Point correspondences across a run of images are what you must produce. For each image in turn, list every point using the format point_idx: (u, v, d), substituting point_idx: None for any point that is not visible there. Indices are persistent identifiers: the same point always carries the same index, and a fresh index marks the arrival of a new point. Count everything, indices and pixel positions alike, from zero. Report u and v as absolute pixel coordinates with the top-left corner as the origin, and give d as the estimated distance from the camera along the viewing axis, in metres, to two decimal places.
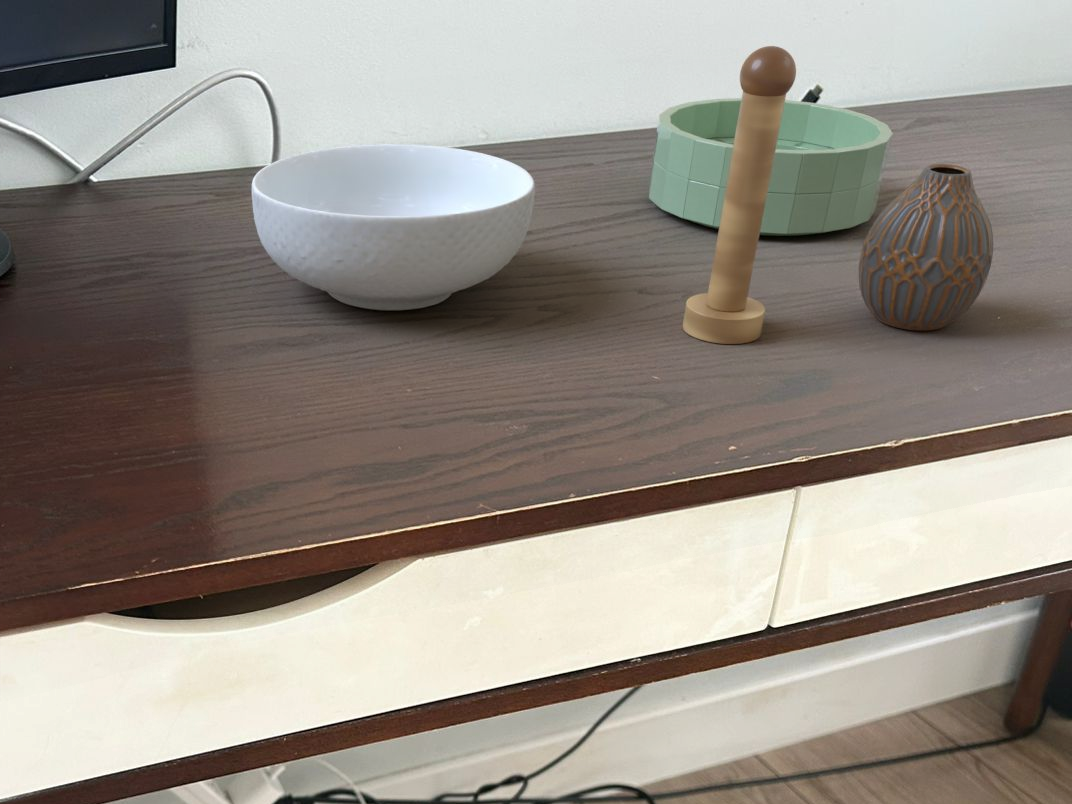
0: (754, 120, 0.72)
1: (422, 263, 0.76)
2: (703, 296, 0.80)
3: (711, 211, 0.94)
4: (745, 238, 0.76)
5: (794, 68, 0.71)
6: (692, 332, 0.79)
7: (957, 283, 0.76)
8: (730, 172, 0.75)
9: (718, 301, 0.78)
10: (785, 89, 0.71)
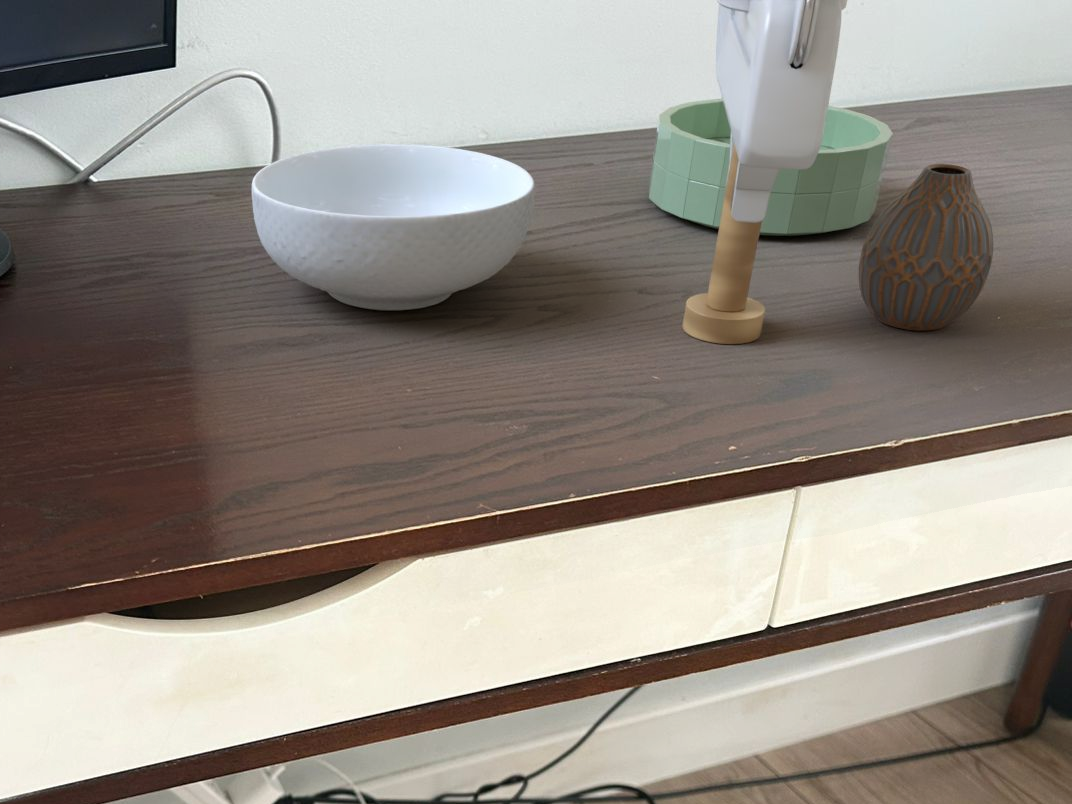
0: None
1: (422, 263, 0.76)
2: (703, 296, 0.80)
3: (711, 211, 0.94)
4: (745, 238, 0.76)
5: (794, 68, 0.71)
6: (692, 332, 0.79)
7: (957, 283, 0.76)
8: (730, 172, 0.75)
9: (718, 301, 0.78)
10: None
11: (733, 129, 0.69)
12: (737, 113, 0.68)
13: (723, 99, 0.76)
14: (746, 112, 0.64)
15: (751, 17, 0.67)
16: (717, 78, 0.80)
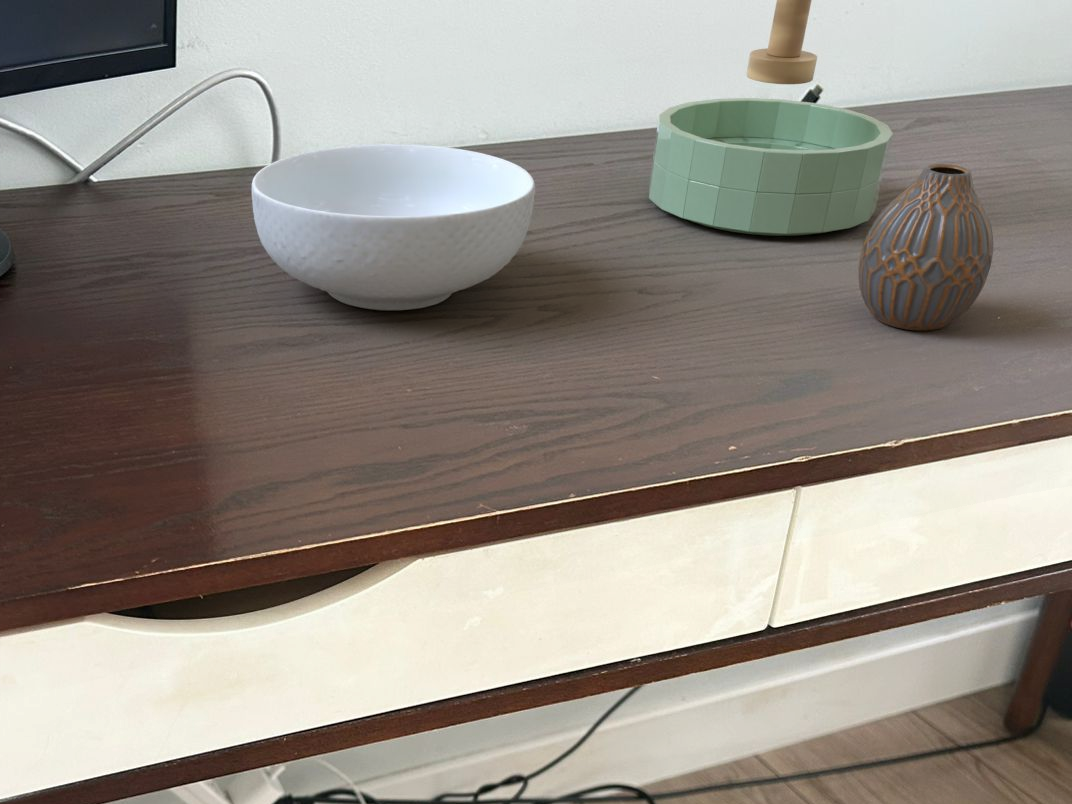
0: None
1: (422, 263, 0.76)
2: (764, 50, 0.95)
3: (711, 211, 0.94)
4: None
5: None
6: (756, 76, 0.94)
7: (957, 283, 0.76)
8: None
9: (778, 48, 0.93)
10: None
11: None
12: None
13: None
14: None
15: None
16: None
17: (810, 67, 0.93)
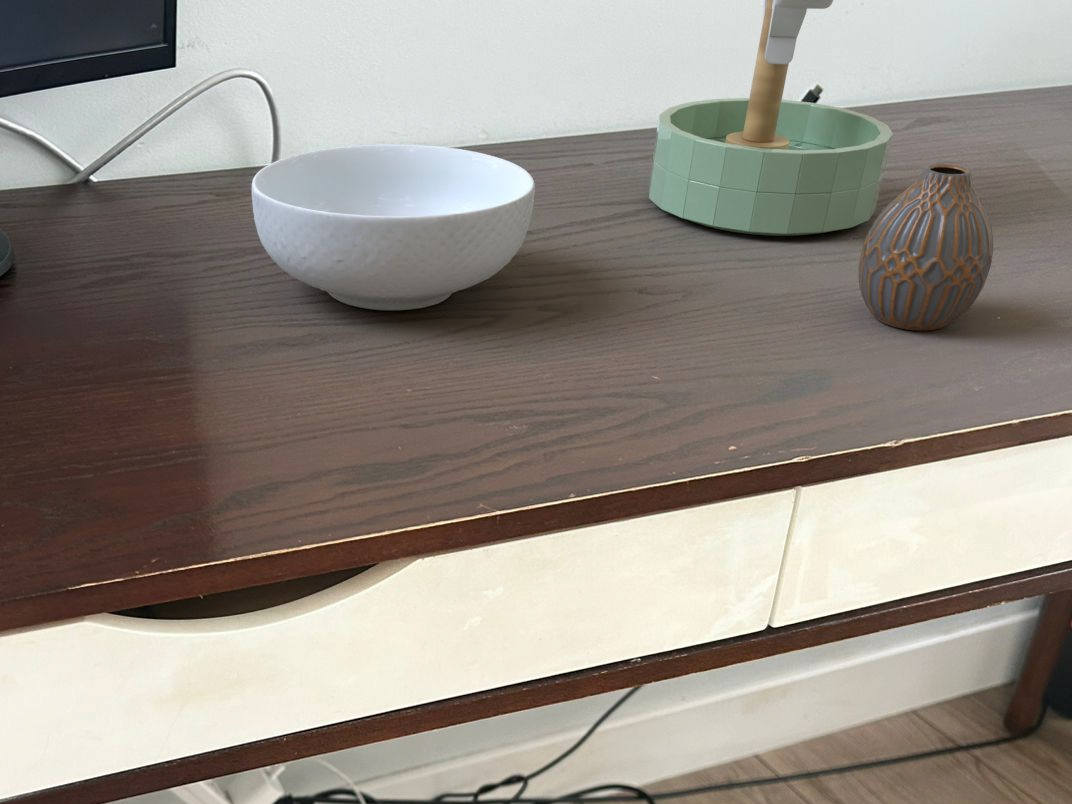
0: None
1: (422, 263, 0.76)
2: (739, 133, 1.00)
3: (711, 211, 0.94)
4: (775, 80, 0.95)
5: None
6: None
7: (957, 283, 0.76)
8: (763, 26, 0.94)
9: (752, 133, 0.98)
10: None
11: None
12: None
13: None
14: None
15: None
16: None
17: None
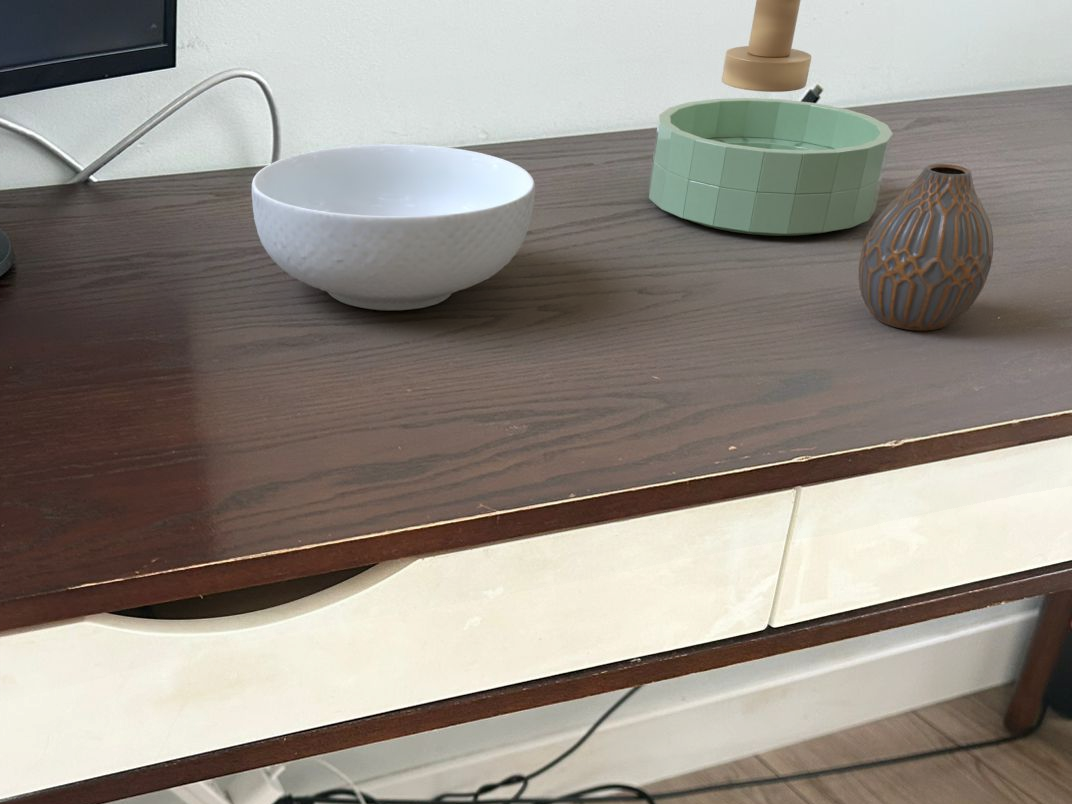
0: None
1: (422, 263, 0.76)
2: (744, 48, 0.75)
3: (711, 211, 0.94)
4: None
5: None
6: (733, 82, 0.73)
7: (957, 283, 0.76)
8: None
9: (761, 46, 0.72)
10: None
11: None
12: None
13: None
14: None
15: None
16: None
17: (802, 70, 0.72)
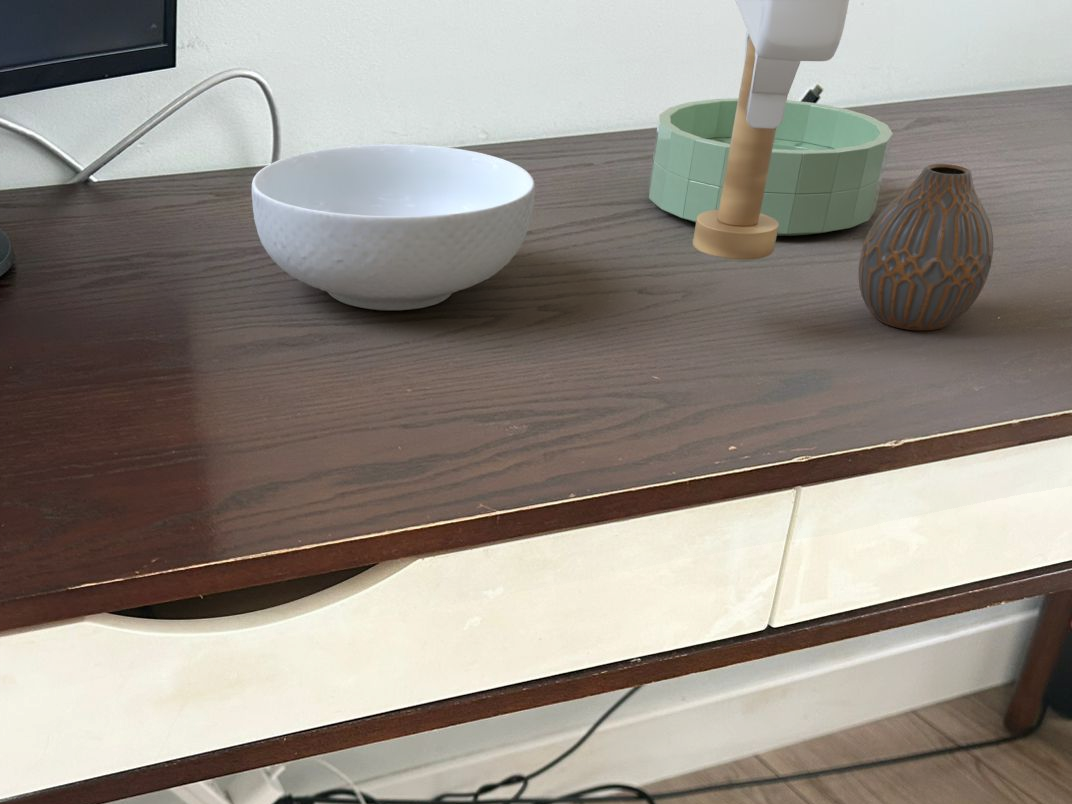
0: None
1: (422, 263, 0.76)
2: (714, 212, 0.77)
3: None
4: (758, 147, 0.73)
5: None
6: (703, 248, 0.76)
7: (957, 283, 0.76)
8: (743, 77, 0.72)
9: (730, 215, 0.75)
10: None
11: (750, 24, 0.66)
12: (754, 6, 0.65)
13: (738, 3, 0.73)
14: None
15: None
16: None
17: (770, 238, 0.75)
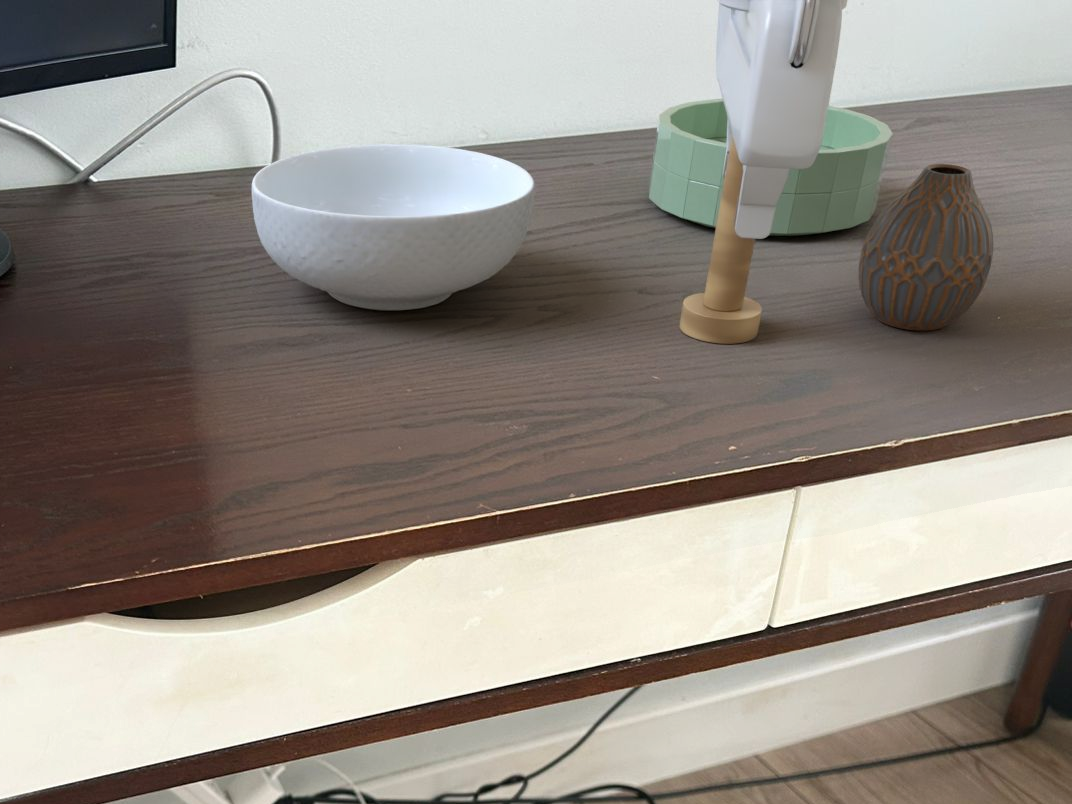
0: None
1: (422, 263, 0.76)
2: (700, 296, 0.80)
3: (711, 211, 0.94)
4: (742, 238, 0.76)
5: None
6: (689, 332, 0.79)
7: (957, 283, 0.76)
8: (727, 172, 0.75)
9: (715, 301, 0.78)
10: None
11: (733, 128, 0.69)
12: (737, 112, 0.68)
13: (723, 98, 0.76)
14: (746, 111, 0.64)
15: (751, 16, 0.67)
16: (717, 77, 0.80)
17: (753, 323, 0.78)
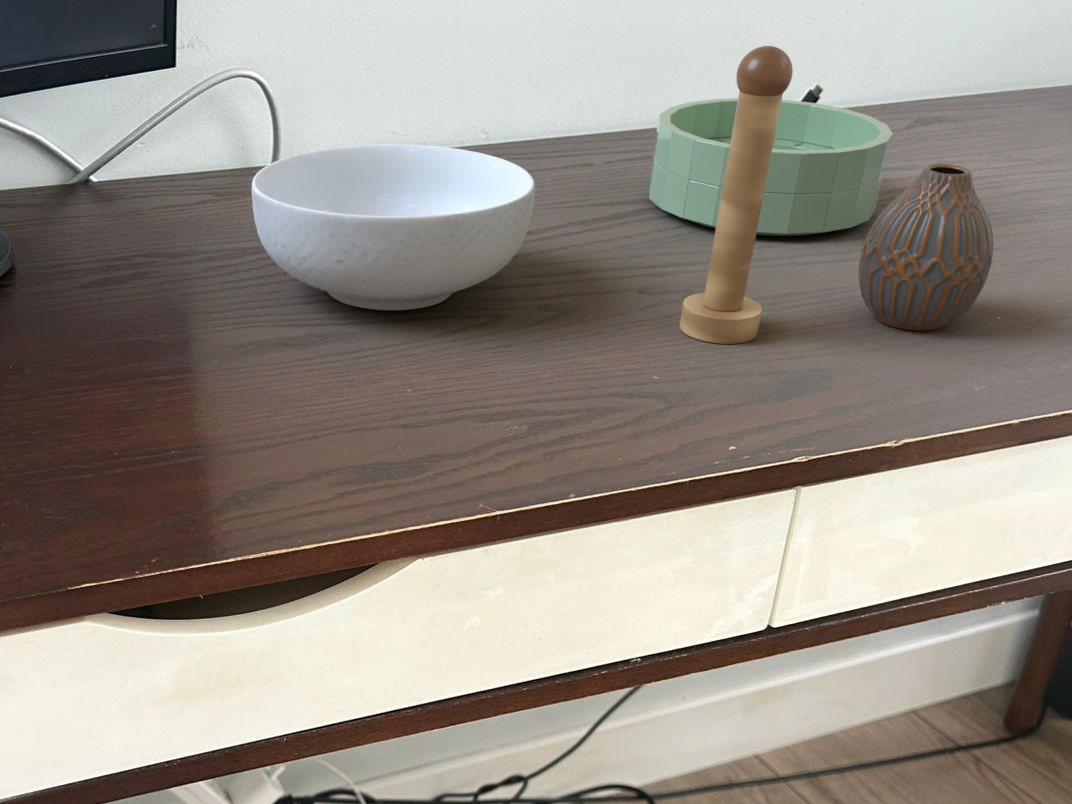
0: (751, 120, 0.72)
1: (422, 263, 0.76)
2: (700, 296, 0.80)
3: (711, 211, 0.94)
4: (742, 238, 0.76)
5: (790, 68, 0.71)
6: (689, 332, 0.79)
7: (957, 283, 0.76)
8: (727, 172, 0.75)
9: (715, 301, 0.78)
10: (781, 89, 0.71)
11: None
12: None
13: None
14: None
15: None
16: None
17: (753, 323, 0.78)
